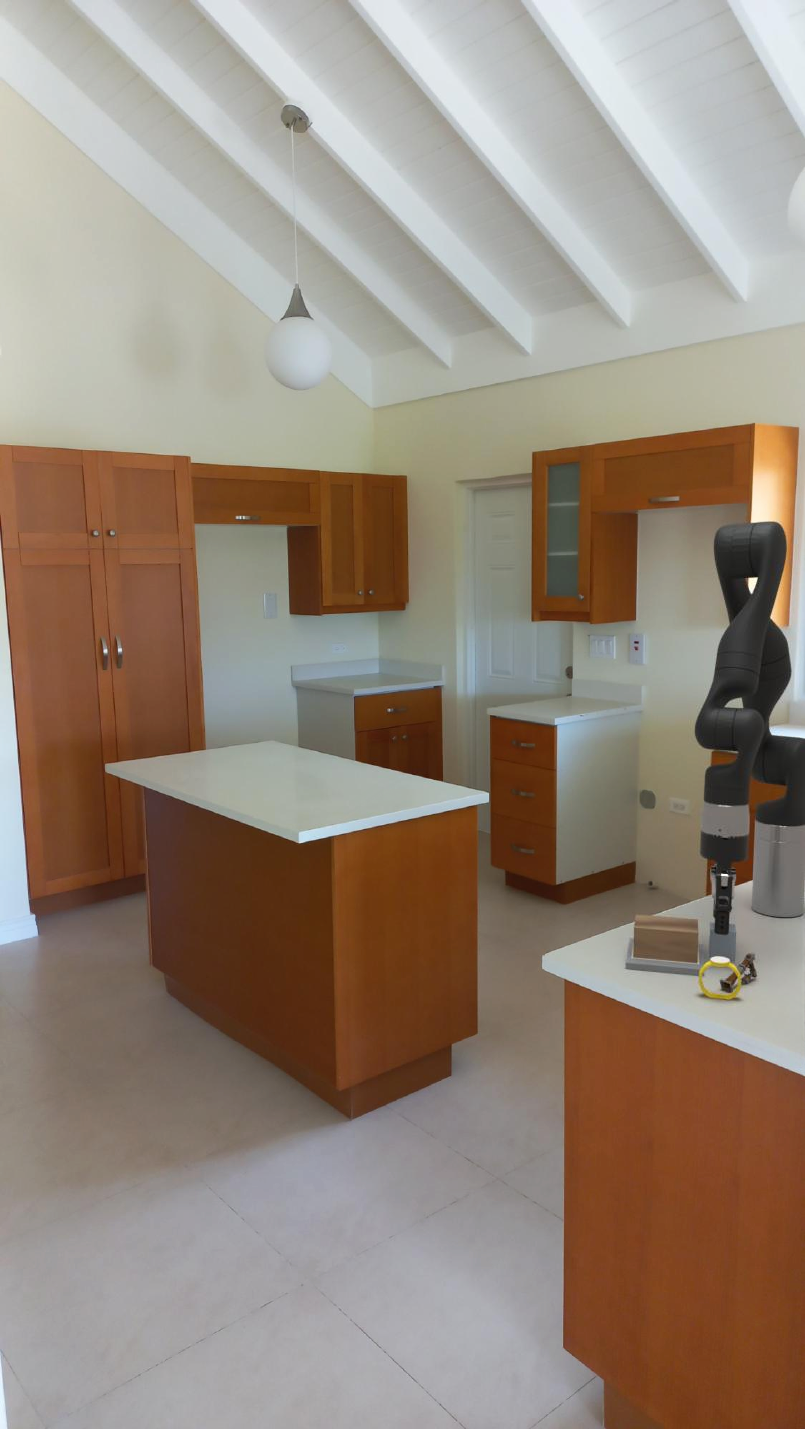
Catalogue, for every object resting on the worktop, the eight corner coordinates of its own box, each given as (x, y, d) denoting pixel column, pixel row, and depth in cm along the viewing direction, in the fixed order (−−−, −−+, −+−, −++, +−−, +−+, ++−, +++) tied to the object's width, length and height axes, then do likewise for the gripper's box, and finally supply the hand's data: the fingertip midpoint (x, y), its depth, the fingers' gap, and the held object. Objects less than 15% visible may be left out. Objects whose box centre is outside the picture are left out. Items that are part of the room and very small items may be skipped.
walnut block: (635, 943, 169) (635, 914, 168) (696, 948, 166) (697, 919, 165) (633, 957, 162) (633, 927, 161) (697, 963, 159) (698, 932, 159)
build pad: (629, 943, 171) (629, 937, 171) (702, 950, 168) (702, 943, 168) (625, 968, 160) (626, 962, 160) (704, 976, 157) (704, 969, 157)
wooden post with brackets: (763, 973, 155) (758, 950, 154) (735, 1005, 151) (729, 982, 150) (753, 970, 157) (747, 947, 155) (725, 1002, 153) (719, 978, 151)
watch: (699, 1000, 148) (697, 961, 148) (699, 993, 151) (697, 955, 150) (741, 1002, 146) (740, 963, 146) (741, 995, 149) (739, 956, 148)
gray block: (708, 951, 168) (709, 922, 167) (733, 953, 167) (735, 924, 166) (709, 959, 164) (710, 929, 164) (735, 961, 163) (736, 932, 162)
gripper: (700, 819, 171) (696, 911, 172) (701, 836, 157) (697, 937, 159) (746, 822, 169) (742, 915, 170) (751, 840, 155) (747, 941, 157)
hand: (720, 925), depth 165 cm, fingers open, 8 cm apart
